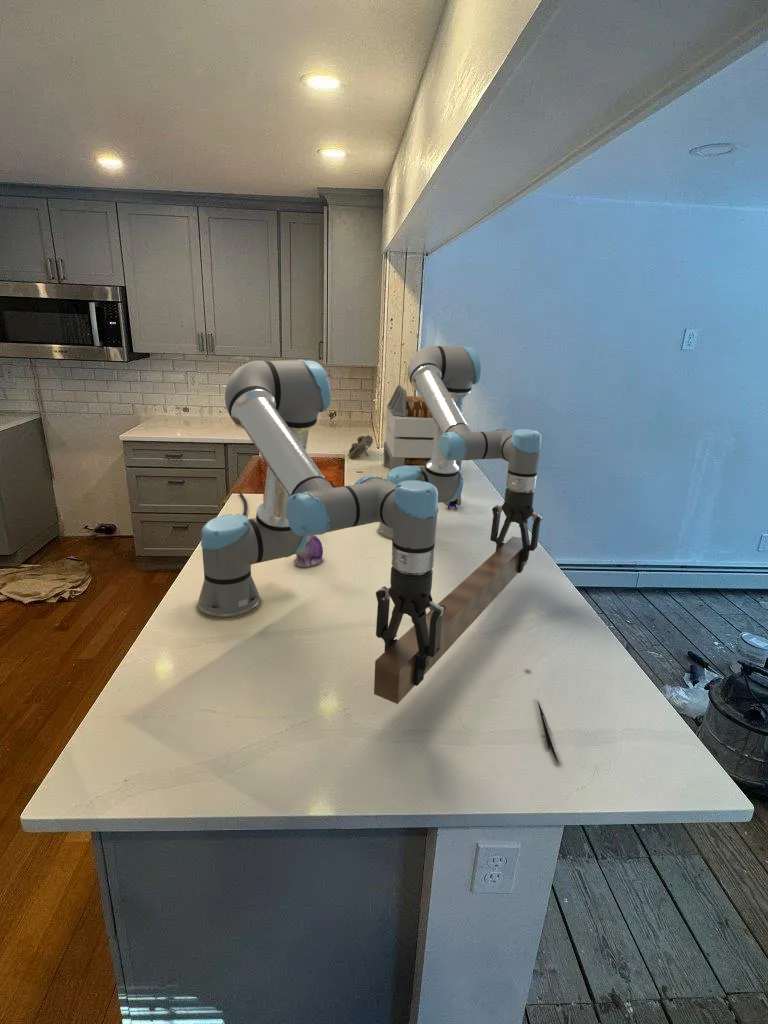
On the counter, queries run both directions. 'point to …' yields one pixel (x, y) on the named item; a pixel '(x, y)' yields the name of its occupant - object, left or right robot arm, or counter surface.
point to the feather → (547, 731)
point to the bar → (447, 621)
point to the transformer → (408, 431)
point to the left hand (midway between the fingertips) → (405, 676)
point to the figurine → (310, 553)
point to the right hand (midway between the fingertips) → (510, 568)
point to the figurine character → (454, 502)
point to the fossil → (360, 446)
